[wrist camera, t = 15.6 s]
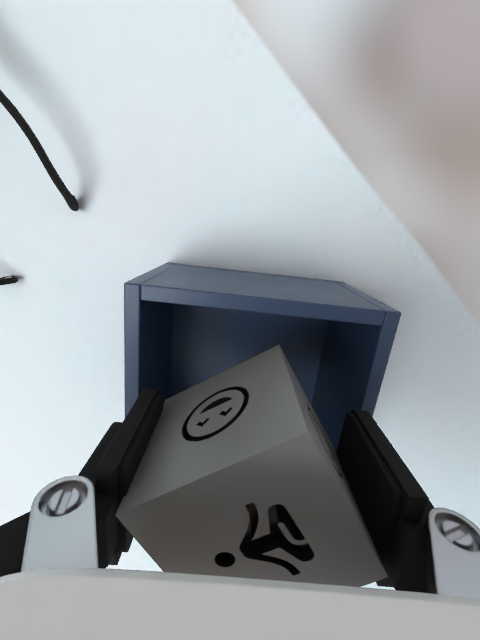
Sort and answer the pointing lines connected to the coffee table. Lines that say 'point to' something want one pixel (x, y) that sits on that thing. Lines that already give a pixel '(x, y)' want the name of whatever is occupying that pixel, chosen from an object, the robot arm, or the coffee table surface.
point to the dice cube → (248, 485)
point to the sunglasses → (44, 159)
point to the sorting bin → (256, 334)
